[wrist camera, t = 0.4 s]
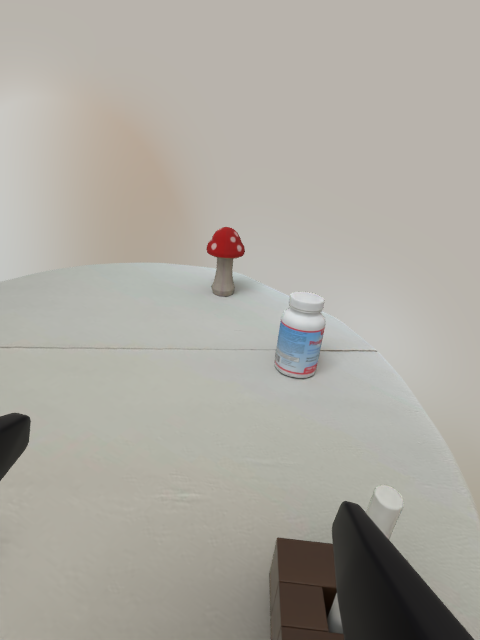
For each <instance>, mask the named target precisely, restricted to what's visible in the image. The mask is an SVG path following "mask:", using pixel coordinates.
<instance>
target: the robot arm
mask: <svg viewBox="0 0 480 640" xmlns="http://www.w3.org/2000/svg"><path fill="white" fill-rule="evenodd" d="M30 422H31V421H30V417H29V416H27V415H23V414H19V413H11V414H8V415H4V416H1V417H0V481H1V479H2V478H3V477H4V476H5V474H6V473H7V472H8V471H9V469H10V468H11V467H12V465H13V464H14V463H15V462H16V460H17V459H18V458H19V457H20V455H21V454H22V453H23V452H24V450H25V449H26V447H27V445H28V442H29V434H30ZM332 538H333V551H334V564H335V577H336V589H337V598H338V605H339V611H340V617H341V623H342V629H343V635H344V640H474V639H473V638H472V636H471V635H470V634H469V633H468V632H467V631H466V629H465V628H464V627H463V626H462V625H461V624H460V622H459V621H458V620H457V619H456V618H455V617H454V615H453V614H452V613H451V612H450V611H449V609H448V608H447V607H446V606H445V605H444V604H443V602H442V601H441V600H440V599H439V598H438V597H437V595H436V594H435V593H434V592H433V591H432V590H431V588H430V587H429V586H428V585H427V584H426V583H425V581H424V580H423V579H422V578H421V577H420V576H419V574H418V573H417V572H416V571H415V570H414V569H413V567H412V566H411V565H410V564H409V563H408V562H407V560H406V559H405V558H404V557H403V556H402V555H401V553H400V552H399V551H398V550H397V549H396V548H395V546H394V545H393V544H392V543H391V542H390V541H389V539H388V538H387V537H386V536H385V535H384V534H383V532H382V531H381V530H380V529H379V528H378V527H377V525H376V524H375V523H374V522H373V521H372V520H371V518H370V517H369V516H368V515H367V514H366V513H365V511H364V510H363V509H362V508H361V507H360V506H359V505H358V504H355V503H352V502H348V501H344V502H342V504H341V506H340V508H339V510H338V513H337V515H336V518H335V520H334V522H333V527H332Z"/></svg>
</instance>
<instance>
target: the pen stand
mask: <svg viewBox="0 0 480 640" xmlns="http://www.w3.org/2000/svg"><path fill="white" fill-rule="evenodd" d="M269 578H270V616H271V619H270V621H271V640H344V635H343V634H341V633H332V632H329V629H328V622H327V618H328V615H329V612H330V610H331V607H332V604H333V602H334V599H335V596H336V593H337V589H336V577H335V564H334V551H333V544H329V543H320V542H311V541H303V540H294V539H285V538H277V540H276V545H275V550H274V554H273V559H272V564H271V569H270V574H269Z"/></svg>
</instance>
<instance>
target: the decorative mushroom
mask: <svg viewBox="0 0 480 640" xmlns="http://www.w3.org/2000/svg"><path fill="white" fill-rule="evenodd" d="M207 252H208V253H209V254H210V255H212V256H214V257H217V270H216V275H215V279H214V282H213V284H212V290H213V293H214V294H215V295H218V296H230V295H232V293H233V291H234V288H235V287H234V283H233V277H232V266H233V259H234V258H238V257H241V256H243V254H244V252H245V250H244V246H243V244H242V242H241V240H240V237H239V235H238V233H237V232H236V231H235V230H234V229H232V228H229V227H224V228H221V229H219V230H217V231H216V232H215V234H214V235H213V237H212V239H211V240H210V242H209V243H208V245H207Z"/></svg>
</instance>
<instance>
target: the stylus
mask: <svg viewBox="0 0 480 640" xmlns="http://www.w3.org/2000/svg"><path fill="white" fill-rule="evenodd" d="M403 506H404V501H403V498H402V496H401V495H400V493H399V492H398V491H397V490H395V489H394V488H392V487H390V486H388V485H379V486H377V487H376V488H375V490H374V492H373V495H372V498H371V501H370V503H369V506H368V509H367V511H366V514H367V515H368V516H369V517H370V518H371V520H372V521H373V522H374V523H375V524H376V525H377V527H378V528H379V529H380V530H381V531H382V532H383V534H384V535H385V536H386V537H387V538H388V539H389V538H390V536H391V534H392V532H393V529H394V527H395V525H396V522H397V520H398V518H399V515H400V513H401V511H402V508H403ZM327 622H328V629H329V632H332V633H341V634H343V629H342V623H341V617H340V611H339V605H338V598H337V593H336V596H335V599H334V602H333V604H332V607H331V610H330V612H329V615H328V618H327Z"/></svg>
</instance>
